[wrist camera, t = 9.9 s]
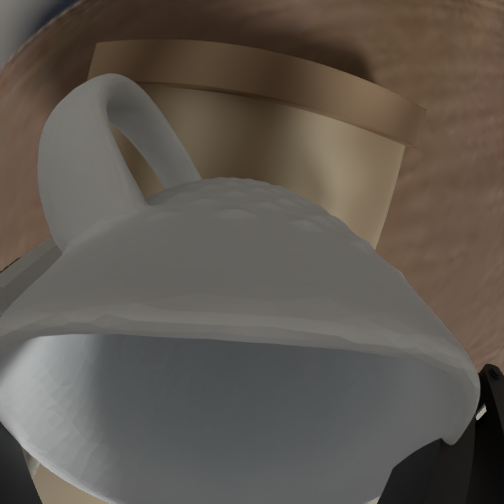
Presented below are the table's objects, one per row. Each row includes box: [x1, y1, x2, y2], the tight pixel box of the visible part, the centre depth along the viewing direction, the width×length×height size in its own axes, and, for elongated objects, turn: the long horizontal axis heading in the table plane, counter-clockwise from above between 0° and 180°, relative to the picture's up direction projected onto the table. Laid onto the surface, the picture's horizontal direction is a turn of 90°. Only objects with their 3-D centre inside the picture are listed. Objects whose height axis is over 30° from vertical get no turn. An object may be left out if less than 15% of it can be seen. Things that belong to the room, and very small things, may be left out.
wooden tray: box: [87, 39, 426, 250], centre depth 16 cm, size 18×21×4 cm
